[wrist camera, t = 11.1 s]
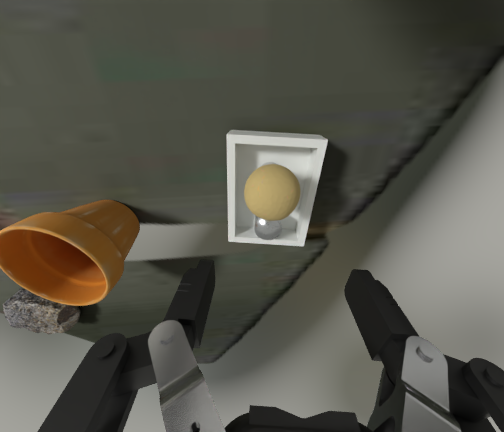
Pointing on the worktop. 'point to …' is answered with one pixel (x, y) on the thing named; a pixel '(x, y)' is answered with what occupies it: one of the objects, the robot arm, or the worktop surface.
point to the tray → (282, 153)
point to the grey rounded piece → (267, 228)
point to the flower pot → (70, 251)
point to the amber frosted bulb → (272, 192)
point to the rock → (39, 313)
